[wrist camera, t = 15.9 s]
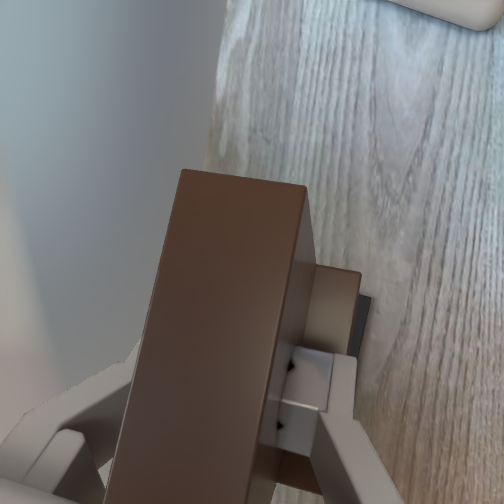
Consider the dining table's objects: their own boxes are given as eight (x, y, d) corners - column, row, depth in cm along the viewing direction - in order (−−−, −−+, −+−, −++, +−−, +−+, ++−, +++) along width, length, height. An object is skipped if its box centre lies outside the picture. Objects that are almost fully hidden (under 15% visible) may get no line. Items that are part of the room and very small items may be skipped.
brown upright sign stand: (324, 485, 14) (327, 775, 5) (182, 444, 15) (-32, 624, 6) (359, 275, 15) (414, 199, 6) (223, 251, 15) (95, 155, 7)
